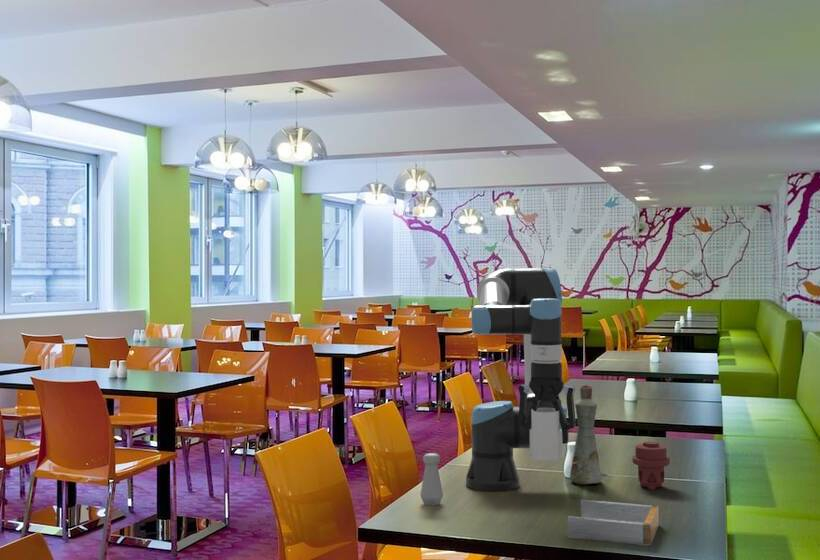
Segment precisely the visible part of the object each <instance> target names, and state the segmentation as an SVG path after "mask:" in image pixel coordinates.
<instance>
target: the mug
mask: <svg viewBox="0 0 820 560" xmlns="http://www.w3.org/2000/svg"><path fill="white" fill-rule="evenodd" d="M531 422H532V455H533V456H532V459H533V461H535V462H540V463H541V462H542V463H552V462H557V461H559V459H560V458H559V410H558V411H556V410H555V409H554V408H537V410H536V411H533V409H532V410H531Z"/></svg>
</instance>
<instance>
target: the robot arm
mask: <svg viewBox="0 0 820 560" xmlns="http://www.w3.org/2000/svg"><path fill="white" fill-rule="evenodd" d="M562 294H563V293H562V285H561V280H560V276H559V273H558V271H557V270H556V269H555V268H553V267H543V266H542V267H541V266H540V267H514V268H513V267H506V268H499V269H497V270H494V271H492V272H490V273H488V274H487V275H485V276H484V277H483V278H482V279H481V280H480V281H479V283H478V285H477V288H476V298H477V300H478V302H479V305H473V306H472V308H471V332H472V333H473V334H474V335H484V336H488V335H490V336H491V335H494V336H495V335H523V352H524V354H523V357H524V358H523V359H524V384H520V385H519V386H518V392H519V405H518V406H514V404H513V402H512V401H509V400H499V401H498V400H496V401H490V402H485V403H480V404H478V405H476V406H474V407H473V408H472V411H471V421H470V424H471V460H470V464H469V466H468V469H467V472H466V475H465V485H466V486H467V487H468V488H469V489H472V490H477V491H486V492H502V491H503V492H504V491H511V490H515V489H517V488H519V487H520V486H521V484H520V483H521V482H520V480H521V479H520V475H519V471H518V468H517V465H516V462H515V460H514V449H529V456H530V457H533V455H532V422H531V410H532V409H533V411H536V410H537V408H554V409H555V410H556V411H558V410H559V459H563V457H565V444H566V445H567V444H568V443H569V430H571V429H574V428H575V427H576V426H577V422H576V421H577V418H576V408H575V401H574V400H575V399H574V394H575V389H576V387H575V386H569V385H565V383H564V381H563V371H562V370H563V363H562V362H561V360H563V359H562V358H563V357H562V355H563V353H562V352H563V348H562V347H563V346H562V314H563V311H562V305H563V295H562ZM562 391H563V392H564V395H565V396H566V397H565V398H566V399H565V400H566V406H564V405H563V406H562V400H561V398H560V393H561V392H562ZM567 417H568V420H567Z"/></svg>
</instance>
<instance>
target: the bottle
mask: <svg viewBox="0 0 820 560" xmlns="http://www.w3.org/2000/svg"><path fill="white" fill-rule="evenodd" d="M579 392H580V395H579V396H580V397H579V399H577V401H575V402H574V408H575V415H576V421H577V427H578V428H577V432H576V433H577V434H576V436H575V444H574V449H573V455H572V460H571V467H570V473H569V475H570V476H569V479H570V481H571V482H572V483H573V484H577V485H584V486H585V485H591V484H594V485H595V484H600V482H601V481H602V472H601V466H600V459H599V453H598V447H597V440H596V435H595V429H594V427H595V420H596V414H597V409H598V404H597V402H596V401H595V400H594V399H593V397H592V396H593V387H592V386H591V385H588V384H585V385H581V386H579Z"/></svg>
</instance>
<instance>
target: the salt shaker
mask: <svg viewBox="0 0 820 560" xmlns="http://www.w3.org/2000/svg"><path fill="white" fill-rule="evenodd" d="M422 457H423V458H422V461H423V463H424V471H423V477H422V483H421V490H420V499H421V500H422V503H423V504H424V505H425V506H427V505H428V506H427V507H436V506H440V505H441V502H442V499H443V496H444V493H443V488H442V487H443V486H442V482H441V477H440V473H439V468H438V467H439V466H438V464H439V463H440V462H441V458H440V455H439V454H438V453H434V452H429V453H425V454H424V455H423V456H422ZM439 504H440V505H439ZM430 505H432V506H430ZM435 505H436V506H435Z"/></svg>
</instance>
